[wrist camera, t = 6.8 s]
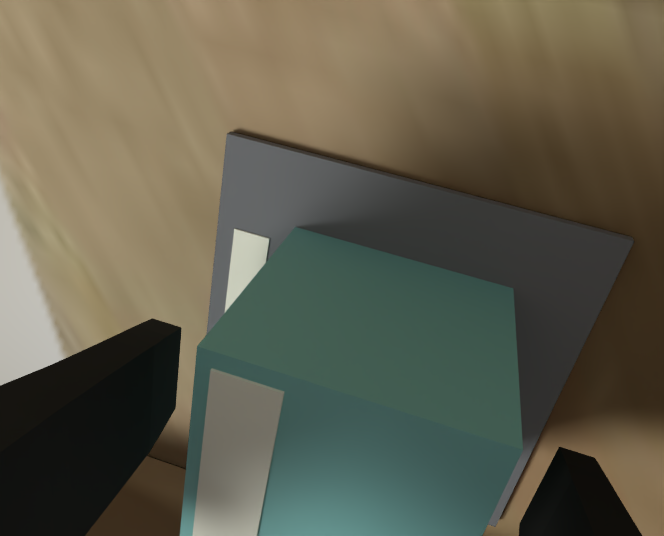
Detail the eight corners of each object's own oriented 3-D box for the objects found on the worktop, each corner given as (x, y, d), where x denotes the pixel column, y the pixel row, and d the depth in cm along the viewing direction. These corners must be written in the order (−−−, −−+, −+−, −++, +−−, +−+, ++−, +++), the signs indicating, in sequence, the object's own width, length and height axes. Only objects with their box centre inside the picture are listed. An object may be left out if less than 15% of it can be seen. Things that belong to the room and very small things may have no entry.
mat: (495, 520, 15) (495, 528, 14) (201, 421, 16) (196, 426, 15) (631, 237, 11) (634, 242, 11) (230, 131, 12) (225, 133, 12)
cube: (513, 288, 12) (523, 452, 8) (448, 453, 14) (429, 648, 10) (295, 226, 12) (195, 348, 8) (266, 394, 14) (176, 555, 10)
